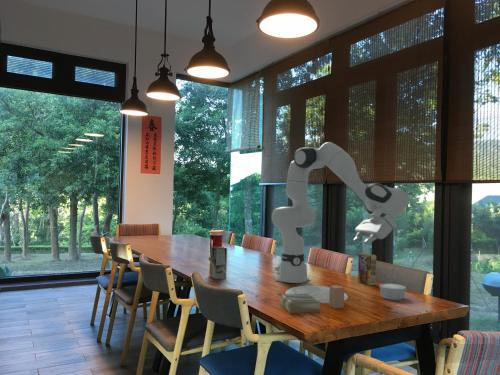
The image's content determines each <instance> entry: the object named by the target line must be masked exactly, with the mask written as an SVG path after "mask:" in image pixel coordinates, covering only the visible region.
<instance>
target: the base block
mask: <svg viewBox="0 0 500 375" xmlns="http://www.w3.org/2000/svg"><path fill="white" fill-rule="evenodd" d="M280 305H281V306H282V307H283V308H284V309H285V310H286V311H287V312H288V313H290V314H291V313H292V314H293V313H294V314H298V313H317V312H320V305H321V303H320V301H319V300H317V299H316V298H314V297H313V296H311V295H310V294H285V293H284V294H280Z"/></svg>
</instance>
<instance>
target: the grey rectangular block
mask: <svg viewBox="0 0 500 375" xmlns="http://www.w3.org/2000/svg"><path fill="white" fill-rule="evenodd" d="M329 288H330V294H329V303H328V304H329V306H330V307H331V308H333V309H344V307H345V301H344V293H345V287H344V286H341V285H329Z"/></svg>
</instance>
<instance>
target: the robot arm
mask: <svg viewBox="0 0 500 375" xmlns="http://www.w3.org/2000/svg"><path fill="white" fill-rule="evenodd" d="M289 164H290V165H289V167H288V171H287V176H286V186H285V195H286V196H287V197H288V199H290V200H291V201H292V206H280V207H276V208H274V209H273V211H272V213H271V222H272V223H273V225H274V226H275V227H276V228H277V229H278V230H279V232H280V234H281V239H282V253H281V256H280V257H281V258H280V259H281V260H280V262H279V263H278V265H277V266H275V267H274V270H275V273H273V274H272V276H273V279H274V281H276V282H283V283H288V284H289V283H290V284H302V283H305V282H307V281H310V277H308V267H307V264H306V263H305V256H306V255H305V251H304V250H305V239H304V238H303V237H302V235H300V234H298V232H297V228H306V227H311V226H314V224H315V222H316V220H317V219H316V218H317V215H316V211H315V210H314V209H313V208H312V207H311V205H310V203H309V200H308V187H309V186H308V185H309V174H310V172H312V171H319V170H322V169H325V168H329V170H330V171H331V172H333V174H335V175H336V176H337V177H338V178H339V179H340V180H341V181H342V182H343V183H344V184H345V185H346V186H348V188H349V189H350V191H352V192H353V193H354V194H355V195H356V196H357V197H358V198H359V200H360V201H361V202H362V204H363V206H364V209H365V211H366V212H367V213H368V214H369V215H370V217H369V218H366V219H364V220H362V221H361V222H360V223H358V225H357V226H356V227H355V229H354V232H355V233H356V234H355V237H354V238H353V239H352V240H353V241H354V243H359V241H360V239H361V238H362V237H366V239H365V240H364V241H363V243H364V244H365V246H366V245H367V246H369V245H370V244H371V243H372V242H374V241H376V240H377V239H379V240H383V239H384V238H386V237H388V235H389V234H390V233H391V232H392V231H393V229H396V227H397V226H398V225H397V223H396V222H395V221H396V219H397V217H398V216H399V215H401V214H402V213H403V212H404V211H405V210H406V208H407V206H408V205H409V203H410V197H409V195H408V194H407V192H406V191H405V190H404V189H402V188H401V187H397V188H395V187H389V186H386V185H384V184H382V183H380V182H372V183H369V184H368V185H366V184H365V183H364V182H363V181H362V179H361V178H360V176H359V173H358V170H357V167H356V163H355V161H354V159H353V157H351V154H349V153H348V152H347V151H345V150H344V149H343V148H342V147H341V146H339V145H337V144H335V143H334V142H331V141H328V142H327V141H326V142H324V143H323V144H322V145H321V146H320V147H314V146H313V147H308V146H305V147H300V148H297V149H296V151H295V152H294V155H293V160H292V161H291V162H290V163H289ZM367 237H368V238H367Z"/></svg>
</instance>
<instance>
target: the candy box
mask: <svg viewBox="0 0 500 375" xmlns="http://www.w3.org/2000/svg"><path fill="white" fill-rule="evenodd" d="M357 268H358V270H357V282H358V283H361V284H364V285H369V286H376V282H377V281H376V280H377V276H376V275H377V255H376V254H370V253H365V252H360V253H358V267H357Z"/></svg>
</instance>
